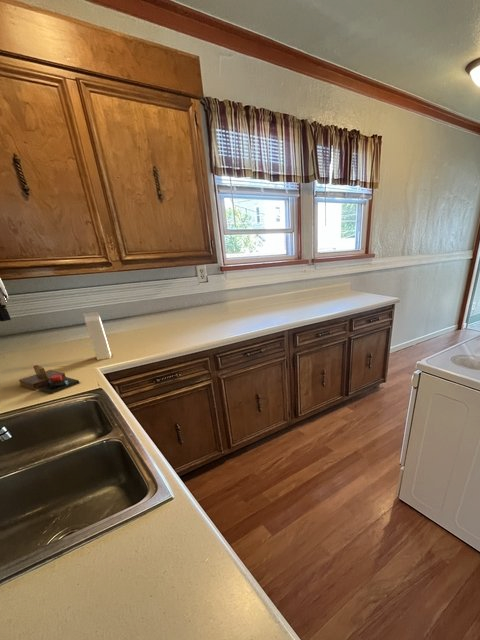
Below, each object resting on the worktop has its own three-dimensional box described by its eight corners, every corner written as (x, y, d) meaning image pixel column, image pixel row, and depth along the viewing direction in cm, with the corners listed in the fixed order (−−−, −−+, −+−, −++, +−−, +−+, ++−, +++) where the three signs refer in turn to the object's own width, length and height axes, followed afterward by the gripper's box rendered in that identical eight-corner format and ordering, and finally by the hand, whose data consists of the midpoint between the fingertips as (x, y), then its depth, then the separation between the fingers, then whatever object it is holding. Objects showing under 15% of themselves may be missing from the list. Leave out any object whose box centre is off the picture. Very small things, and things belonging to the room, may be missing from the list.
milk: (98, 357, 162) (83, 312, 152) (111, 355, 164) (98, 310, 154) (97, 360, 157) (82, 314, 147) (111, 358, 159) (97, 313, 149)
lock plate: (35, 391, 127) (32, 383, 125) (21, 386, 131) (18, 379, 129) (67, 379, 136) (64, 372, 135) (52, 376, 140) (50, 369, 139)
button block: (51, 394, 123) (48, 386, 122) (39, 391, 127) (36, 383, 125) (79, 384, 132) (77, 376, 131) (68, 380, 135) (65, 373, 134)
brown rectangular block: (47, 377, 131) (43, 367, 129) (43, 378, 130) (39, 368, 128) (41, 374, 134) (37, 364, 132) (36, 375, 133) (32, 365, 131)
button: (55, 382, 126) (53, 378, 125) (49, 381, 127) (48, 377, 126) (64, 379, 129) (63, 375, 128) (59, 378, 130) (57, 374, 129)
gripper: (-44, 265, 108) (-19, 321, 117) (-22, 266, 102) (3, 324, 111) (-17, 264, 114) (5, 316, 122) (6, 264, 108) (28, 320, 117)
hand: (4, 320), depth 116 cm, fingers closed
